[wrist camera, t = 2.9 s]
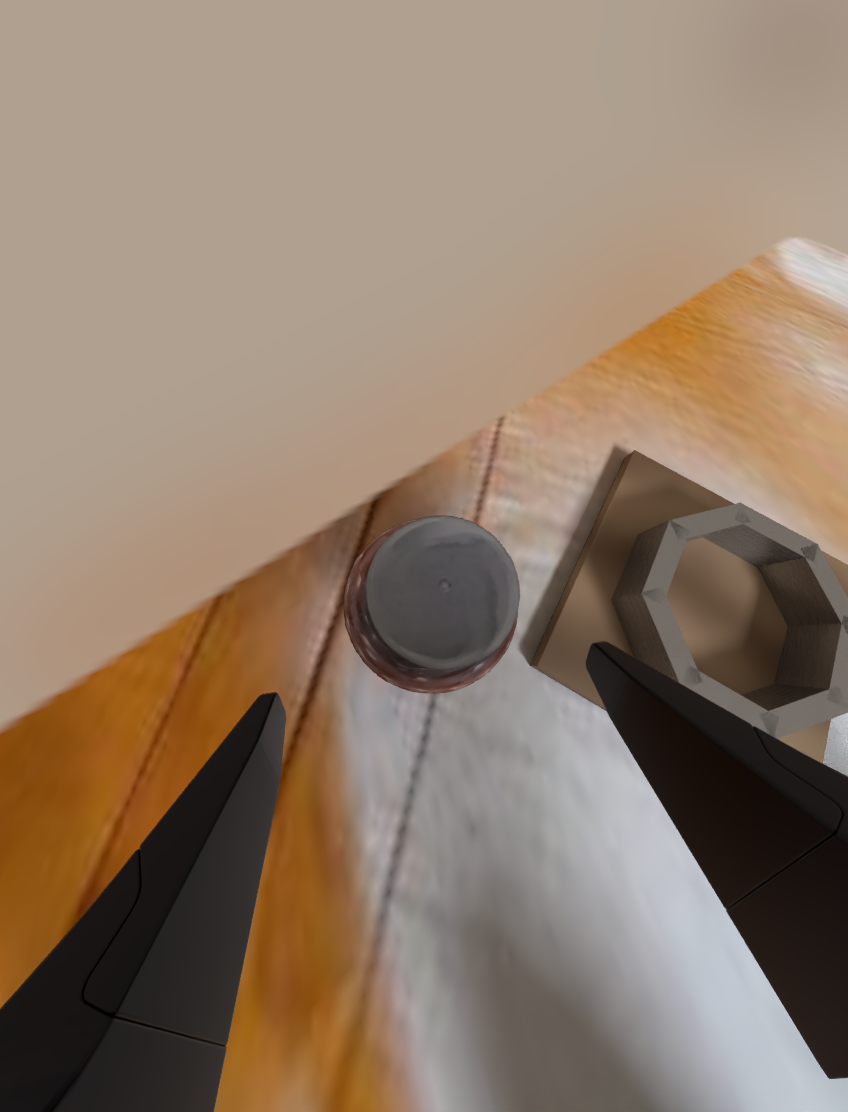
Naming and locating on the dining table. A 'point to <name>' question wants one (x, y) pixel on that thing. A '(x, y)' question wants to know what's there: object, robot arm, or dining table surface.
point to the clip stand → (673, 595)
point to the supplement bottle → (432, 604)
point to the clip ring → (798, 590)
